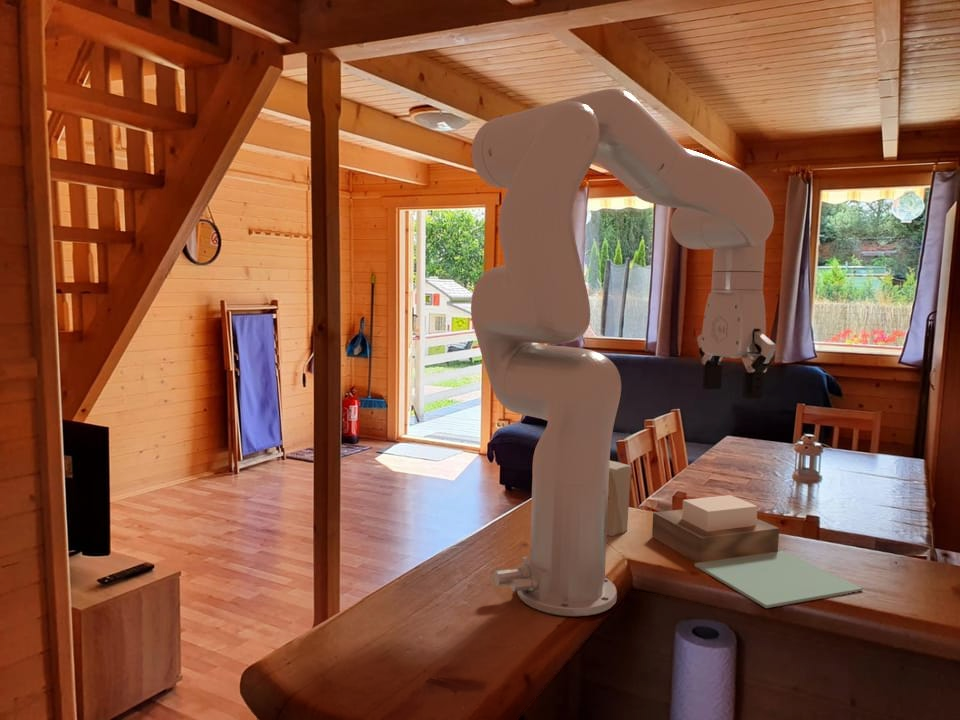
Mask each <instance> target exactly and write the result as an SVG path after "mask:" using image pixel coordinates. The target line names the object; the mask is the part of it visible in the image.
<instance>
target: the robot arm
mask: <svg viewBox="0 0 960 720" xmlns="http://www.w3.org/2000/svg"><path fill="white" fill-rule="evenodd" d="M470 150H471V161H472V164H473V165H472V166H473V168H474V170H475V172H476V173H477V175H478V176H479V178H481V180H482V181H484V182H485V183H486V184H488V185H490V186H491V187H494V188H496V189H507V190H506V193H505V194H504V198H503V201H502V203H501V207H500V211H499V217H498V235H499V241H500V246H501V250H502V251H501V252H502V256H503V261H504V265H499V266H495V267H493V268H491V269H489V270H487V271H486V272H484V273H483V274H482V275H481V276H480V277H479V279H478V280H477V282H476V283H475V286H474V288H473V291H472V295H471V301H470V303H471V304H470V315H471V322H472V325H473V330H474V333H475V337H476V340H477V344H478V347H479V350H480V352H481V353H480V354H481V357H482V360H483V364H484V368H485V371H486V374H487V378H488V379H489V384H490V387H491V389H492V392H493V393H494V396H495V397H496V399H497V400H498V402H499V403H500V404H501V405H502V406H503V408H505V409H506V410H509V411H511V412H512V413H514V414H518V415H522V416H528V417H532V418H536V419H542V420H544V421H547V424H546V427H545V429H544V431H543V433H542V434H541V436H540V437H539V440H538V442H537V444H536V446H535V449H534V453H533V457H532V469H531V470H532V473H531V474H532V482H531V483H532V484H531V514H530V516H531V517H530V519H531V520H530V549H529V550H530V552H529V553H530V555H529V556H523V557H522V564H519V565H517V566H516V567H515V568H511V569H510V568H506V569H505V568H504V569H499V570H498V569H497V570H494V571H493V582H494V583H493V584H494V585H495V586H496V587H504V586H510V587H511V590H512V592H516V593H517V596H518V597H519V599H520V600H521V601H523V602H524V604H526V605H527V606H529V607H531V608H533V609H535V610H538V611H541V612H543V613H546V614H551V615H556V616H562V617H563V616H564V617H588V616H593V615H597V614H601V613H603V612H604V613H605V612H606V611H608V610H610V609H611V608H612V607H613V606H614V605H615V604H616V602H617V599H618V590H617V588H616V585H615V584H614V583H613V582H612V581H611V580H610V579H608V578H607V577H606V561H607V560H606V558H607V555H606V554H607V536H608V535H607V512H608V486H609V463H610V461H611V460H610V459H611V458H610V457H611V448H612V447H611V446H612V437H613V432H614V431H613V430H614V425H615V420H616V416H617V412H618V408H619V404H620V399H621V396H622V395H621V394H622V393H621V392H622V379H621V375H620V372H619V370H618V367H617V366H616V365H615V364H614V362H613V361H611V359H610V358H608V356H606V355H604V354H603V353H602V354H601V353H600V352H598V351H595V350H592V349H586V348H581V347H572V346H565V345H564V346H562V345H561V344H567V343H571V342H574V341H576V340H578V339H580V338H581V337H582V336H584V335H585V333H586V332H587V330H588V329H589V326H590V321H591V307H590V306H591V305H590V304H591V303H590V298H589V293H588V289H587V285H586V280H585V276H584V271H583V267H582V264H581V263H582V262H581V259H580V255H579V254H580V253H579V250H578V245H577V242H576V241H577V240H576V236H575V230H574V223H573V213H574V207H575V201H576V198H577V195H578V192H579V189H580V187H581V184H582V183H583V180H584V178H585V176H586V174H587V172H588V171H589V169H590V168H591V167H592V166H591V165H592V164H598V165H600V166H601V167H603V168H604V169H605V170H606V171H607V172H608V173H610V174H611V175H612V176H613V177H614V178H616V179H617V180H618V181H619V182H620V183H621V184H623V186H624V187H625V188H627V189H628V190H629V191H630V192H631V193H632V194H634V195H635V196H636V197H637V198H638V199H639V200H641V201H643V202H647V203H650V204H654V205H658V206H663V207H669V208H676V209H675V210H674V211H673V214H672V216H671V218H670V219H671V220H670V231H671V234H672V237H673V238H674V240H675V241H676V242H677V243H678V245H681V246H682V247H683V248H684V247H685V248H687V249H690V250H713V251H712V253H713V255H712V256H713V257H712V273H711V274H712V275H711V290H710V292H708V295H707V296H708V297H707V301H706V304H705V308H704V309H705V310H704V315H703V321H702V330H701V331H702V332H701V333H700V334H699V335H698V336H697V337H696V341H697V345H698V348H699V349H698V351H699V354H700V357H701V364H702V365H703V369H702V371H703V372H702V389H704V390H719V389H721V388H722V380H723V379H722V378H723V377H722V375H723V365H722V364H720V363H721V361H722V360H723V358H727V359H740V358H741V360H742V362H743V365H744V367H745V369H746V371H743V378H742V391H741V392H742V394H741V395H742V398H743V399H747V400H748V399H750V400H752V399H762V397H763V388H764V374H765V373H767V370H768V367H769V365H770V364H771V363H772V361H773V357H774V354H775V352H776V351H777V344H776V343H774V342H773V341H772V340H771V339H770V338H769V337H767V336H766V335H767V318H766V317H767V315H766V304H765V295H764V289H763V288H764V276H765V275H764V273H765V258H766V257H765V256H766V240H768V238H769V237H770V235H771V234H772V232H773V229H774V224H775V223H774V221H775V217H774V210H773V206H772V205H771V202H770V200H769V198H768V196H767V195H766V194H765V192H764V191H763V190H762V189H761V187H760V186H759V185H758V184H757V183H756V182H755V181H754V180H753V178H752V177H750V176H749V175H748V174H747V173H745V172H744V171H742V170H741V169H739V168H737V167H736V166H733V165H731V164H728V163H726V162H724V161H720V160H718V159H715V158H713V157H711V156H708V155H705V154H703V153H700V152H697V151H694V150H691V149H687V148H685V147H684V146H683V145H682V144H680V143H679V142H678V141H677V140H676V138H675V137H674V136H673V135H672V134H670V132H669V131H668V130H667V129H665V127H664V126H662V124H661V123H660V122H659V121H658V120H657V119H656V118H655V117H654V116H653V114H651V112H649V111H648V109H646V108H645V106H644V105H643V104H642V103H641V102H640V101H639V100H638V99H637V98H636V97H634V96H633V95H632V94H631V93H630V92H628V91H626V90H624V89H620V88H619V89H618V88H608V89H607V88H605V89H601V90H596V91H592V92H588V93H585V94H581V95H578V96H573V97H570V98H566V99H563V100H558V101H555V102H551V103H548V104H547V103H545V104H543V105H542V104H541V105H539V106H536V107H532V108H527V109H525V110H522V111H519V112H515V113H510V114H507V115H506V114H505V115H502V116H500V117H495V118H492V119H490V120H488V121H486V122H485V123H483V124H482V126H481V127H480V128H479V129H478V131H477V132H476V133H475V135H474V138H473V140H472V145H471V149H470ZM560 345H561V346H560ZM753 360H754V361H753Z"/></svg>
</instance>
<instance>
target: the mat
mask: <svg viewBox="0 0 960 720" xmlns="http://www.w3.org/2000/svg"><path fill="white" fill-rule="evenodd" d="M694 567H696V568H697V569H699V570H700V571H703V572H704V573H706V574H707V575H709V576H711V577H713V578H714V579H716V580H717V581H719V582H721V583H723V584H725V585H726V586H728V587H730V588H731V589H733V590H734V591H736V592H738V593H740V594H741V595H743V596H745V597H746V598H748V599H750V600H751V601H753V602H755V603H757V604H759V605H760V606H762V607H763V608H765V609H770V608H775V607H781V606H786V605H792V604H797V603H799V604H800V603H803V602H810V601H814V600H815V601H817V600H820V599H821V600H822V599H826V598H832V597H833V598H834V597H837V596H838V597H839V596H843V594H844V595H849V594H848V593H850V594H853V593H852V592H855V593H859V592H858V591H861V592H863V591H864V590H863V589H864V588H863V587H861V586H859V585H857V584H855V583H852V582H851V581H849V580H846V579H843V578H841V577H840V576H839V575H838V576H837V575H836V574H833V573H831V572H829V571H827V570H825V569H822V568H820V567H819V566H817V565H815V564H811V563H810V562H807V561H806V560H804V559H801V558H799V557H797V556H796V555H794V554H790V553H789V552H787V551H786V550H785V551H784V550H778V552H771V553H764V554H757V555H750V556H743V557H736V558H729V559H722V560H714V561H707V562H700V563H696V562H694Z"/></svg>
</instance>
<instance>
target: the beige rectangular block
mask: <svg viewBox="0 0 960 720" xmlns="http://www.w3.org/2000/svg"><path fill="white" fill-rule="evenodd" d="M681 509H682V519H683V520H685V521H687V522H689V523H691V524H693V525H695V526H697V527H699V528H701V529H703V530H705V531H707V532H709V531H717V530H725V529H733V528H741V527H749V526H756V524H757V519H758V505H755V504H753V503H751V502H748V501H746V500H743V499H741V498H740V497H737V496H734V495H732V494H729V495H728V494H727V495H718V496H717V495H716V496H708V497H707V496H706V497H699V498H698V497H697V498H689V499H683V500H682V508H681Z"/></svg>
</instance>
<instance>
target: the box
mask: <svg viewBox="0 0 960 720" xmlns="http://www.w3.org/2000/svg"><path fill="white" fill-rule="evenodd" d="M631 473H632V466H631V465H630V464H625V463H622V462H619V461H613V460H610V463H609V486H608V512H607V536H609V537H615V536H617V535H620V534H623V533H625V532H628V522H629V521H628V520H629V507H630V492H631V491H630V489H631V476H632V474H631Z"/></svg>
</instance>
